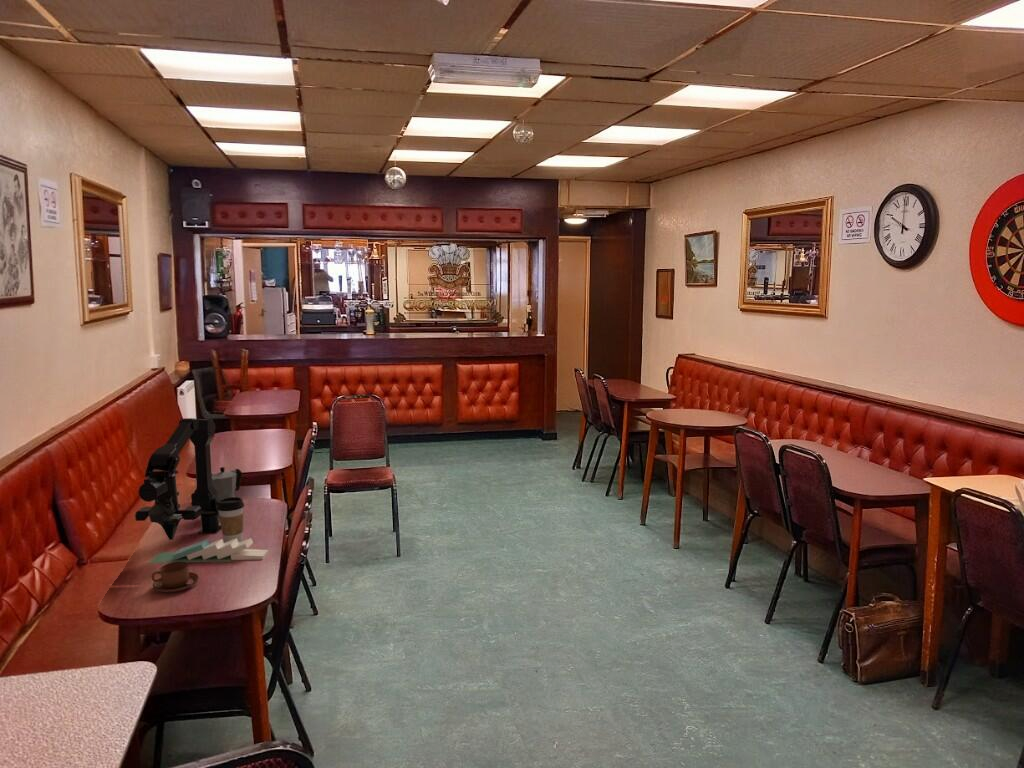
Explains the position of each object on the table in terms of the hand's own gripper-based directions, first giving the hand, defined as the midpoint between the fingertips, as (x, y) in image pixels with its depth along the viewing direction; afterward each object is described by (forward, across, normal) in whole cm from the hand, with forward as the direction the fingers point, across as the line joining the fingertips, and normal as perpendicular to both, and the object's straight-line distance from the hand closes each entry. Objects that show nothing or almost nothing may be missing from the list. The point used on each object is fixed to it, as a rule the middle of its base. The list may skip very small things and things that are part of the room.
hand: (171, 539), depth 230 cm
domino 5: (+5, +19, 0) cm, 20 cm away
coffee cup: (+7, +14, +13) cm, 20 cm away
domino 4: (+5, +15, 0) cm, 16 cm away
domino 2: (+5, +6, 0) cm, 8 cm away
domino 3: (+5, +10, 0) cm, 12 cm away
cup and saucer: (+7, +10, -20) cm, 24 cm away
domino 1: (+5, +1, 0) cm, 5 cm away
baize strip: (+6, +7, 0) cm, 9 cm away
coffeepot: (+7, +1, +43) cm, 44 cm away
